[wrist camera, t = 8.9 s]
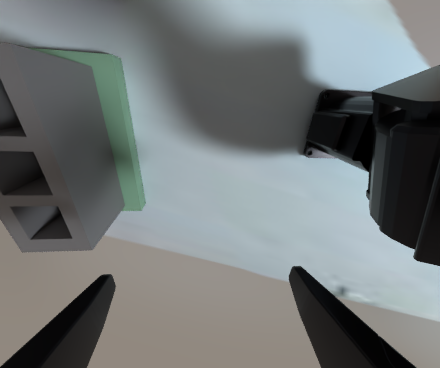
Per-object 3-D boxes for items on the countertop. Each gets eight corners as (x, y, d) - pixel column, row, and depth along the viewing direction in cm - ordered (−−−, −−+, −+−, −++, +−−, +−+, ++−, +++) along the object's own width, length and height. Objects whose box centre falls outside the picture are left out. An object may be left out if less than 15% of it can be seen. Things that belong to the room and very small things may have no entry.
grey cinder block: (91, 66, 13) (9, 43, 7) (125, 205, 18) (92, 250, 13) (20, 61, 12) (-124, 32, 7) (76, 206, 18) (22, 252, 12)
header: (121, 58, 14) (81, 40, 9) (145, 203, 20) (129, 232, 16) (11, 50, 13) (-89, 25, 9) (72, 203, 19) (33, 234, 15)
